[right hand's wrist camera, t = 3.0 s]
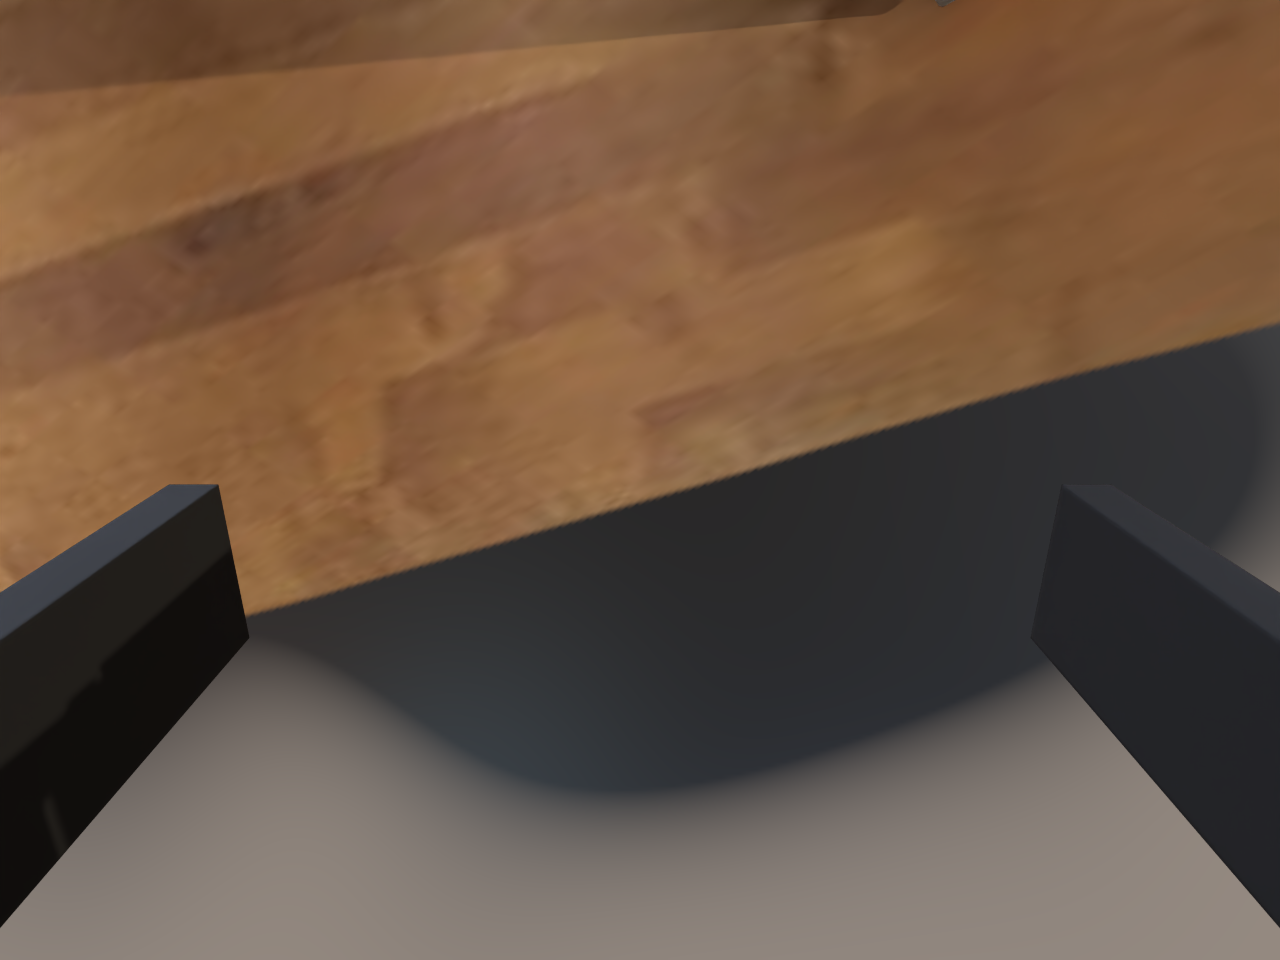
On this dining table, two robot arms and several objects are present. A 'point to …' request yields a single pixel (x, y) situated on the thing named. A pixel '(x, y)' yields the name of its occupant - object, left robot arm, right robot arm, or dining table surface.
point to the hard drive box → (943, 2)
